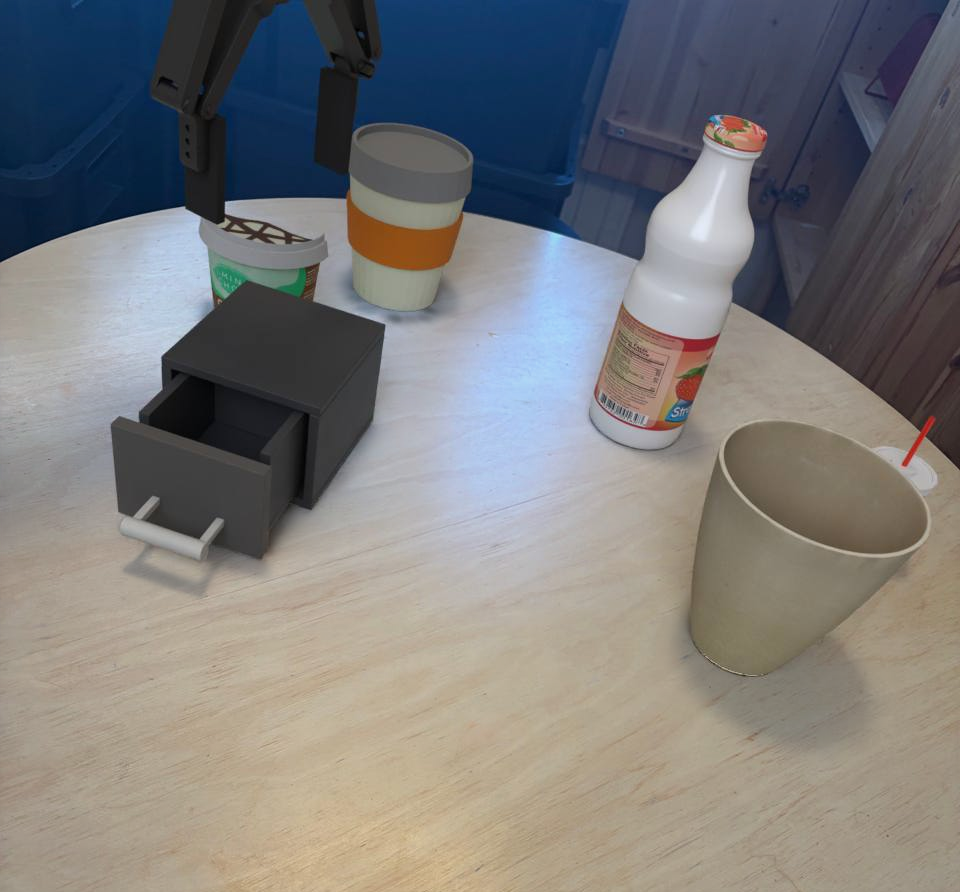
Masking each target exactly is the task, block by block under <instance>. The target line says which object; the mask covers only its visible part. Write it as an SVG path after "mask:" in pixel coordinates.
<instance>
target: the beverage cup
mask: <svg viewBox="0 0 960 892" xmlns="http://www.w3.org/2000/svg"><path fill="white" fill-rule="evenodd" d="M936 419H937V417H936V416H934V415H929V418H928V419H927V421H926V422H925V425H923V427H922V429H921V431H920V433H919V434H918V436H917V437H916V439H915V441H914V443H913V444H912V446H911V448H910V449H909V451H908V450H904V449H901V448H899V447H895V446H887V445H882V446H876V447H875V446H874V447H873V448H872V449H873V450H874V451H876V452H878V453H879V454H881V455H882V456H883V457H885V458H886V459H888V460H889V461H890V462H892V463H893V464H894V465H895V466H897V467H898V468H899V469H900V470H901V471H902V472H903V473H905V474H906V475H907V476H908V478H909V479H910V480H911V481H912V482H913V483H914V484H915V485H916V487H917V488H918V489H919V491H920V492H921V494H922V495H923V497H924V498H925V497H927V496H928V495H930V493H932V491H933V490H934V488H936V486H937V485H938V475H937V473H936V471H935V470H934V468H933V467H932V466H931V465H930V464H929V463H927V462H926V461H925V460H924V459H923V458H921V457H920V456H917V455H915V454H916V452H917V451H918V449H919V448H920V446H921V444H922V442H923V441H924V439H925V437H927V434H928V433H929V431H930V429H931V428H932V426H933V424H934V423H935V421H936Z"/></svg>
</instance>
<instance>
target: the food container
mask: <svg viewBox="0 0 960 892" xmlns="http://www.w3.org/2000/svg"><path fill="white" fill-rule="evenodd" d="M198 225H199V226H198V235H199V238H200V240H201V241H202V242H203V244H204V245H205V246H206V247H207V257H208V267H209V273H210V274H209V276H210V284H211V286H210V287H211V296H212V304H213V305H212V306H213V309H214V308H216V307H217V306H218V305H219V304H220V303H221V302H222V301H223V300H224V299H226V298H227V297H228V296H229V295H230V294H231V293H232V292H233V291H234V290H235V289H237V288H238V287H239V286H240V285H241V284H242V283H243V282H244V281H245V280H248V281H252V282H255V283H258V284H261V285H264V286H267V287H270V288H273V289H277V290H280V291H283V292H286V293H289V294H292V295H295V296H298V297H302V298H305V299H308V300H311V301H314V297H315V293H316V292H315V291H316V287H317V282H318V275H319V272H320V266H321V262H323V261H325V260H326V259H327V258H329V250H328V249H329V248H328V240H326V239H325V235H326V234H325V233H322V234H321V235H320V236H318V237H316V238H314V239H313V238H307V237H304V236H300V235H298V234H294V233H291V232H289V231H287V230H285V229H283V228H281V227H279V226H277V225H274V224H273V223H269V222H267V221H262V220H259V219H258V220H257V219H248V218H243V217H238V216H234V215H230V214H228V213H225V222H223V223H221V224H218V225H216V224H214V223H212V222H210V221H208V220H206V219H204V218H202V217H200V221H199V224H198Z"/></svg>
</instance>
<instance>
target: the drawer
mask: <svg viewBox="0 0 960 892" xmlns="http://www.w3.org/2000/svg"><path fill="white" fill-rule="evenodd" d="M309 416H310V414H308V413H305V412H302V411H299V410H296V409H293V408H290V407H287V406H284V405H281V404H278V403H275V402H272V401H269V400H266V399H263V398H260V397H257V396H253V395H250V394H247V393H244V392H241V391H238V390H235V389H232V388H229V387H226V386H223V385H220V384H217V383H214V382H211V381H208V380H205V379H201V378H198V377H195V376H192V375H189V374H186V373H183V372H180V373H179V374H178V375H177V376H176V377H175V378H174V379H173V380H172V381H171V382H170V383H169V384H168V385H167V386H165V387H164V388H163V389H162V388H161V390H160V391H159V392H158V393H157V394H156V395H155V396H153V398H152V399H151V400H150V401H148V403H146V404H145V405H144V406H143V407H142V408H141V409H140V410H139V411H138V421H137V420H133V419H130V418H127V417H124V416H121V415H119V416H117V417H116V419H114V420H113V421H112V422H111V423H110V434H111V443H112V444H111V445H112V457H113V468H114V478H115V492H116V503H117V512H118V513H119V514H122V515H125V517H124V518H122V521H121V523H120V526H119V532H120V533H119V534H121V535H122V536H124V537H128V538H130V539H133V540H136V541H139V542H142V543H144V544H148V545H151V546H153V547H154V546H155V547H157V548H159V549H163V550H166V551H168V552H172V553H174V554H177V555H181V556H184V557H186V558H189V559H193V560H195V561H197V562H204V560H206V558H207V556H208V554H209V550H210V545H211V544H212V545H215V546H217V547H219V548H223V549H227V550H229V551H232V552H235V553H238V554H240V555H244V556H247V557H250V558H252V559H256V560H258V561H263V559H264V557H265V556H266V555H267V554H268V551H269V536H270V535H269V533H270V531H271V529H273V527H274V525H275V524H276V522H277V521H278V519H280V517H281V516H282V514H283V513H284V511H285V510H286V508H287V507H288V506H289V504H291V503H290V502H291V500H292V499H293V498H294V496H295V495H296V493H297V492H298V491H299V489H300V488H301V487H302V485H303V484H304V478H305V466H306V453H307V441H308V428H309Z"/></svg>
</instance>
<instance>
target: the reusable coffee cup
mask: <svg viewBox="0 0 960 892" xmlns="http://www.w3.org/2000/svg"><path fill="white" fill-rule="evenodd" d="M473 165H474V156H473V153H472V152H471V150H470V149H469V148H468V147H466V146H465V145H464V144H463V143H462V142H460V141H459V140H456V138H453V137H451V136H449V135H446V134H444V133H442V132H439V131H436V130H433V129H430V128H426V127H422V126H417V125H413V124H406V123H397V122H377V123H369V124H366V125H362V126H360V127H358V128H356V129H355V130H354V131H353V132H352V142H351V152H350V162H349V172H348V174H349V184H350V187H349V189H348V190H347V193H346V223H347V225H346V226H347V242H348V243H349V245H350V247H351V263H352V288H353V290H354V292H355V293H356V294H357V295H358V296H359V297H360V298H361V299H362V300H364V301H366V302H368V303H369V304H371V305H373V306H376V307H379V308H382V309H386V310H391V311H395V312H414V311H421V310H424V309H426V308H428V307H429V306H431V305H433V303H434V301H435V298H436V295H437V292H438V289H439V286H440V282H441V279H442V275H443V272H444V269H445V265H446V264H448V263H449V262H450V260H451V258H452V257H453V253H454V250H455V247H456V243H457V240H458V237H459V234H460V231H461V227H462V223H463V221H464V213H463V207H464V204H465V201H466V197H467V196H468V195H469V194H470V193H471V191H472V181H473V180H472V179H473V167H474V166H473Z"/></svg>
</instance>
